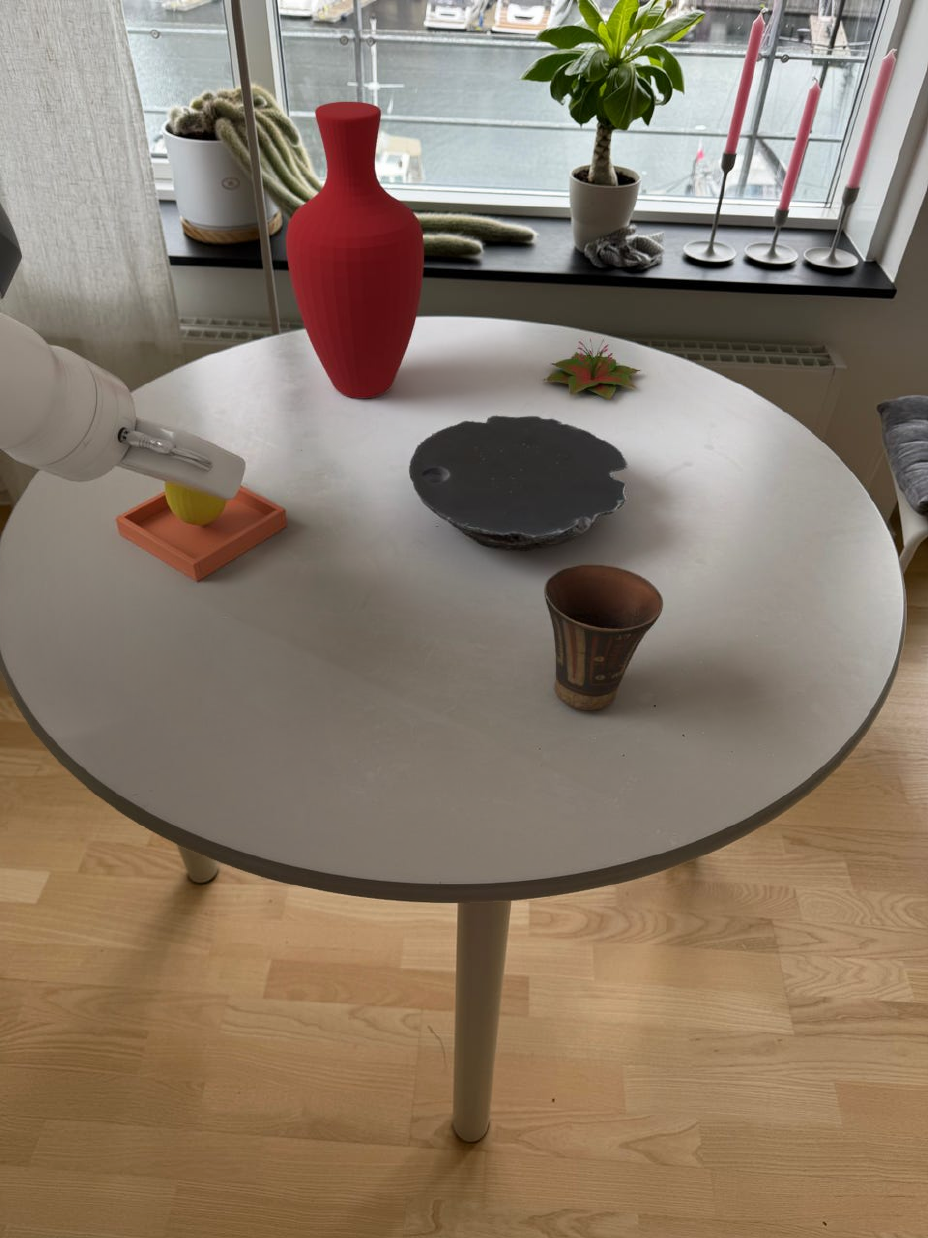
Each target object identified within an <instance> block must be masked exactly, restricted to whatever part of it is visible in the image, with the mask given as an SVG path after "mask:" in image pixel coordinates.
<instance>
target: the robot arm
mask: <svg viewBox="0 0 928 1238" xmlns="http://www.w3.org/2000/svg"><path fill="white" fill-rule="evenodd" d="M22 259H23V254H22V249H21V246H20V243H19V240H18V237H17V234H16V231H15V229H14V227H13V224H12V222H11V219H10V218H9V216H8V214H7V211H5V208H4V207H3V205H2V204H1V202H0V300H3V299H4V298H5V296H6V294H7V291H8V289H9V287H10V285H11V283H12V280H13V279H14V276H15V274H16V272H17V270H18V268H19V266H20V263H21V262H22ZM0 450H2V451H3V452H4V453H6V455H8V456H9V457H11V459H13V460H15V461H16V462H19V463H20V464H23V465H26V466H29V467H32V468H34V469H37V470H39V471H42V472H45V473H48V474H49V475H50V474H51V475H53V476H56V477H58V478H61V479H64V480H66V481H69V482H76V483H85V482H90V481H94V480H97V479H99V478H102V477H103V476H105V475H107V474H108V473H110V472H111V471H112V470H114V469H115V468H116V467H118V468H120V469H121V468H122V469H124V470H127V471H130V472H134V473H137V474H141V475H143V476H145V477H150V478H153V479H156V480H160V481H162V482H164V483H165V482H169V483H172V484H175V485H178V486H181V487H185V488H188V489H191V490H194V491H197V492H201V493H204V494H207V495H210V496H213V497H217V498H220V499H224V500H231V499H233V498H234V497H235V496H236V494H237V492H238V490H239V488H240V485H241V486H242V482H243V480H244V475H245V472H246V468H247V467H246V461H245V459H244V458H242V457H241V456H239V455H238V454H236V453H234V452H232V451H230V450H227V449H225V448H223V447H221V446H219V445H217V444H216V443H213V442H211V441H208V440H207V439H204V438H202V437H200V436H197V435H195V434H192V433H189V432H186V431H184V430H181V429H178V428H175V427H171V426H167V425H164V424H161V423H158V422H155V421H154V422H153V421H151V420H147V419H144V418H140V417H137V411H136V404H135V401H134V397H133V395H132V393H131V391H130V389H129V388H128V387H127V385H126V383H124V381H122V380H121V379H120V378H119V377H118V376H116V375H115V374H113V373H112V372H109V371H108V370H106V369H104V368H103V367H101V366H99V365H97V364H95V363H93V362H92V361H90V360H88V359H86V358H85V357H83V356H82V355H80V354H78V353H76V352H74V351H71V350H70V349H67V348H66V347H62V346H59V345H54V344H48V342H47V341H46V340H45V339H44V338H43V337H42V336H41V335H39V334H38V333H37V332H36V331H35V330H34V329H33V328H31V327H29V326H28V325H26V324H24V323H22V322H20V321H18V320H16V319H14V318H12V317H11V316H9V315H6V314H4V313H3V312H0Z"/></svg>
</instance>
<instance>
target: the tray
mask: <svg viewBox="0 0 928 1238" xmlns="http://www.w3.org/2000/svg"><path fill="white" fill-rule="evenodd" d="M114 519H115V523H116V526H117V531H118V533H119V535H120V536H121V537H123V538H124V539H127V540H128V541H129V542H131V543H133V544H135V545H136V546H137V547H139V548H141V549H142V550H144V551H146V552H147V553H149V554H151V555H153V556H154V557H155V558H157V559H159V560H161V561H162V562H164V563H165V564H167V565H168V566H169V567H170V566H171V567H172V568H173V569H175V570H177V571H178V572H180V573H181V574H183V575H185V576H187V577H189V578H190V579H192V580H194V582H196V583H197V582H199V581H200V580H202V579H204V578H206V577H207V576H209V575H210V574H212V573H213V572H215V571H217V570H219V569H221V568H222V567H224V566H225V565H227V564H228V563H230V562H232V561H233V560H235V559H236V558H238V557H240V556H241V555H243V554H244V553H246V552H248V551H249V550H251V549H253V548H254V547H256V546H258V545H259V544H261V543H262V542H264V541H265V540H267V539H268V538H271V537H272V536H273V535H275V534H276V533H278V532H280V531H281V530H283V529H285V528H287V527H288V517H287V511H286V508H284V507H282V506H281V505H279V504H277V503H275V502H273V501H271V500H269V499H267V498H265V497H264V496H262V495H259V494H258V493H256V492H254V491H253V490H251V489H248V488H246V487H244V486H243V485H242V484H241V485H240V488H239V490H238V492H237V494H236V496H235V497H234V498H233V499H231V500H227V501H226V506H225V508H224V510H223V512H222V514H221V515H220V516H219V517H218V518H217V519H216V520H214V521H213V522H211V523H209V524H206V525H205V526H199V525H191V524H188V523H185V522H183V521H182V520H180V519H179V518H178V517H177V516H176V515H175V514H174V513H173V512H172V510H171V508H170V506H169V504H168V502H167V499H166V495H165V490H164V491H162V492H160V493H158V494H157V495H155V496H152V497H151V498H149V499H147V500H145V501H144V502H141V503H139V504H138V505H136V506H134V507H132V508H130V509H129V510H126V511H124V512H123V513H121V514H119V515H117V516H115V517H114Z"/></svg>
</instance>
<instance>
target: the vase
mask: <svg viewBox="0 0 928 1238" xmlns="http://www.w3.org/2000/svg"><path fill="white" fill-rule="evenodd" d="M314 111H315V112H314V115H315V119H316V123H317V127H318V131H319V134H320V137H321V142H322V146H323V150H324V156H325V160H326V178H325V181H324V184H323V186H322V188H321V189H320V191H319V192H318V193H317V194H315V195H314V196H313V197H312V198H311V199H309V200H307V201H306V202H305V203H304V204H302V205H301V206H300V207H298V208H297V209H296V210H295V211H294V213H292V214H293V215H291V216H292V217H291V218H290V219H289V221H288V223H287V224H288V225H287V230H286V236H285V245H286V247H285V248H286V258H287V259H286V260H287V265H288V271H289V276H290V281H291V285H292V290H293V294H294V298H295V301H296V303H297V306H298V311H299V313H300V316H301V320H302V323H303V325H304V328H305V329H304V330H305V331H306V334H307V336H308V338H309V341H310V343H311V345H312V348H313V350H314V352H315V354H316V356H317V358H318V360H319V362H320V364H321V366H322V367H323V370H324V371H325V373H326V375H327V376H328V377H327V378H329V381H330V383H331V384H332V385H333V387H334V389H335V390H336V391H337V392H339V393H340V394H341V395H343V396H345V397H349V398H355V399H370V398H375V397H378V396H381V395H384V394H385V393H386V392H388V391H389V390H391V388H392V386H393V384H394V382H395V379H396V377H397V374H398V372H399V371H400V367H401V365H402V362H403V360H404V357H405V355H406V353H407V349H408V348H409V344H410V341H411V337H412V335H413V331H414V327H415V324H416V320H417V316H418V311H419V305H420V300H421V293H422V286H423V280H424V279H423V277H424V267H425V266H424V264H425V245H424V234H423V229H422V226H421V223H420V220H419V219H418V217H417V216H416V214H415V213H414V211H413V210H412V209H411V208H410V207H409V206H407V204H405V203H403V202H402V201H400V199H397V198H396V197H394V196H392V195H391V194H390V193H388V192H387V191H386V189H384V187H383V186H382V185H381V182H380V181H379V179H378V175H377V171H376V154H377V145H378V138H379V132H380V131H379V130H380V125H381V119H382V118H381V117H382V110H381V109H380V107H379V106H377V105H376V104H375V105H374V104H372V103H368V102H362V101H335V102H329V103H325V104H322V105H319V106H317V108H315V110H314Z"/></svg>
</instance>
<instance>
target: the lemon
mask: <svg viewBox="0 0 928 1238" xmlns="http://www.w3.org/2000/svg"><path fill="white" fill-rule="evenodd" d="M164 491H165V495H166V499H167V502H168V504H169V506H170V508H171V510H172V512H173V513H174V514H175V515H176V516H177V517H178V518H179V519H180V520H182V521H183V522H185V523H188V524H191V525H199V526H205V525H206V524H209V523H211V522H213V521H214V520H216V519H217V518H218V517H219V516H220V515H221V514H222V512H223V510H224V508H225V506H226V501H227V500H224V499H220V498H217V497H213V496H210V495H207V494H204V493H201V492H197V491H194V490H191V489H188V488H185V487H181V486H178V485H175V484H172V483H169V482H165V481H164Z"/></svg>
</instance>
